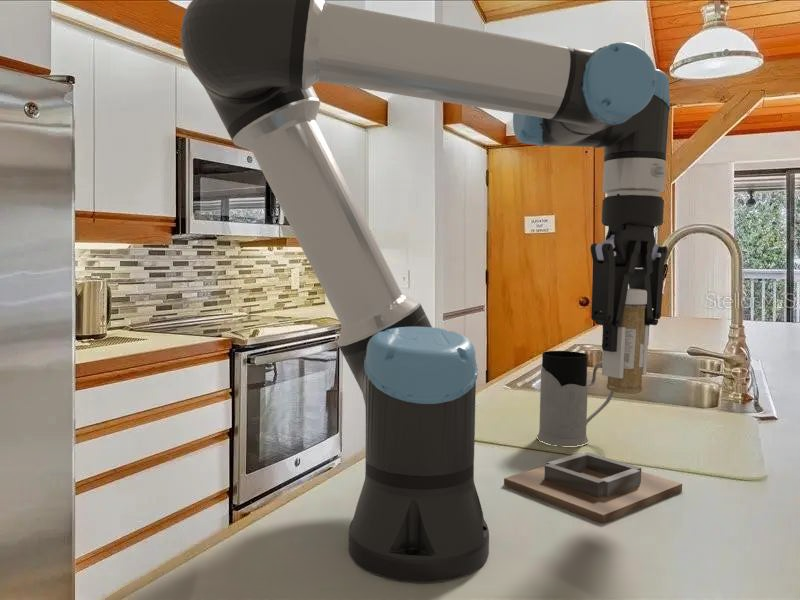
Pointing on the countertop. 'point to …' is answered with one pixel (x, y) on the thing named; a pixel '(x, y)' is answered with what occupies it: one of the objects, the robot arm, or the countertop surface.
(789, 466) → the countertop surface
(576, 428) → the grey mug
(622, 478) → the socket board
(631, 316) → the sprinkles bottle
